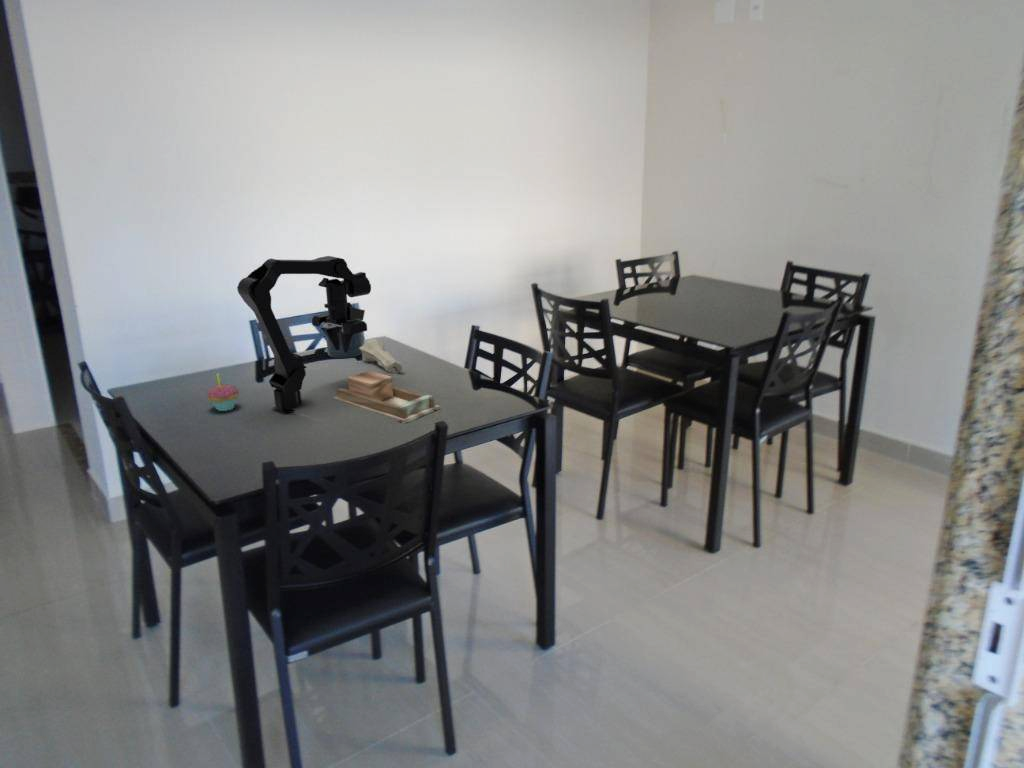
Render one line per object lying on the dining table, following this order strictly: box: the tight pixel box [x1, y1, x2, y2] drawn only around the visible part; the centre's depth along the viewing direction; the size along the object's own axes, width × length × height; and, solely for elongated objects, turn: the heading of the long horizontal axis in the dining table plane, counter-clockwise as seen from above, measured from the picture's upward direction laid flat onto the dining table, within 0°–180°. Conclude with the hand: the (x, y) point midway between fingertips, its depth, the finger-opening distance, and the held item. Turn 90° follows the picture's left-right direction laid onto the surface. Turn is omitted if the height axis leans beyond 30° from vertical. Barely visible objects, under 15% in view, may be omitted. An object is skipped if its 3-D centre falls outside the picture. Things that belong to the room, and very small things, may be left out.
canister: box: [325, 319, 364, 359], centre depth 262 cm, size 13×13×18 cm
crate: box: [347, 370, 394, 401], centre depth 217 cm, size 8×10×6 cm
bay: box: [333, 385, 441, 425], centre depth 214 cm, size 14×30×4 cm, turn 51°
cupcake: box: [207, 372, 240, 412], centre depth 211 cm, size 9×8×12 cm
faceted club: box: [359, 337, 403, 374], centre depth 248 cm, size 9×8×25 cm
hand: (341, 351), depth 221 cm, fingers open, 4 cm apart
